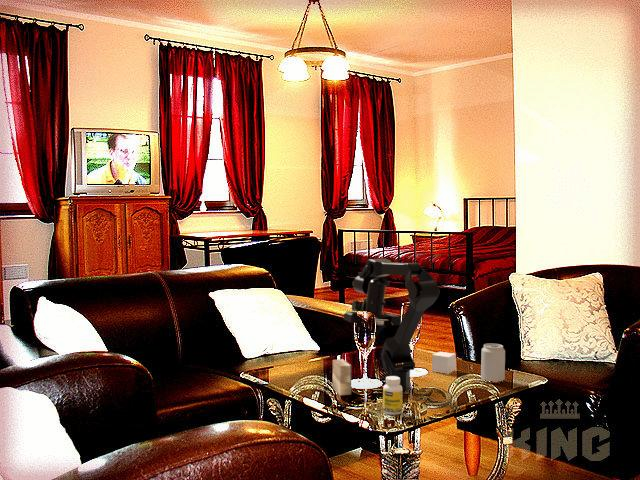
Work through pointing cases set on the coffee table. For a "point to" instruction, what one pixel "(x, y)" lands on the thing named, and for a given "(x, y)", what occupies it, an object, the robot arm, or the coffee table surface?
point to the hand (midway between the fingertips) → (369, 344)
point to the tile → (342, 377)
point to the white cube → (443, 362)
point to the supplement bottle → (392, 396)
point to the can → (493, 362)
